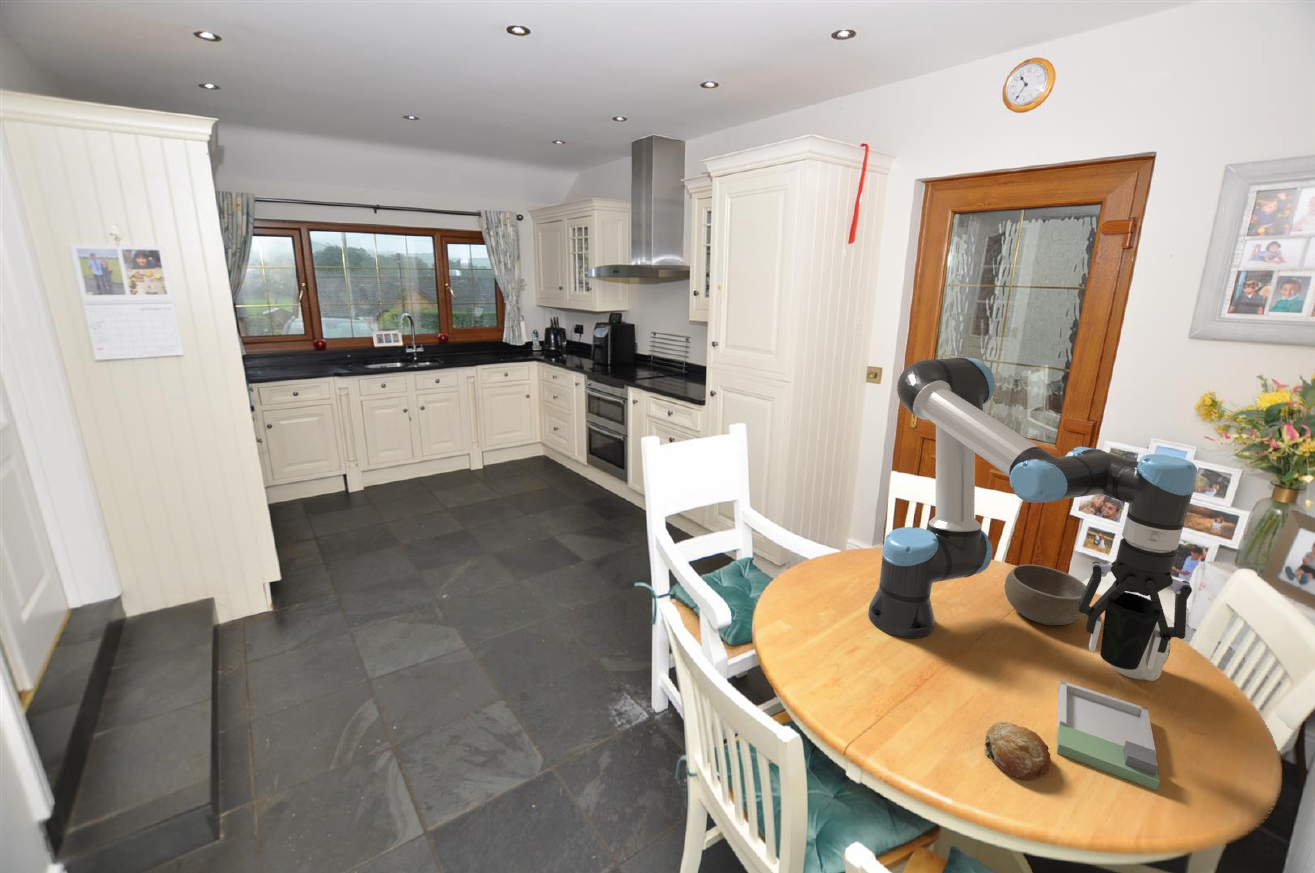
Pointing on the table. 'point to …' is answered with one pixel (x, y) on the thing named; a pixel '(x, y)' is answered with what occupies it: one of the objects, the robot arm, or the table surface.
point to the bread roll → (1017, 751)
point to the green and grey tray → (1106, 734)
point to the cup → (1127, 630)
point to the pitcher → (1142, 669)
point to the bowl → (1044, 594)
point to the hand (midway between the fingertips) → (1119, 656)
